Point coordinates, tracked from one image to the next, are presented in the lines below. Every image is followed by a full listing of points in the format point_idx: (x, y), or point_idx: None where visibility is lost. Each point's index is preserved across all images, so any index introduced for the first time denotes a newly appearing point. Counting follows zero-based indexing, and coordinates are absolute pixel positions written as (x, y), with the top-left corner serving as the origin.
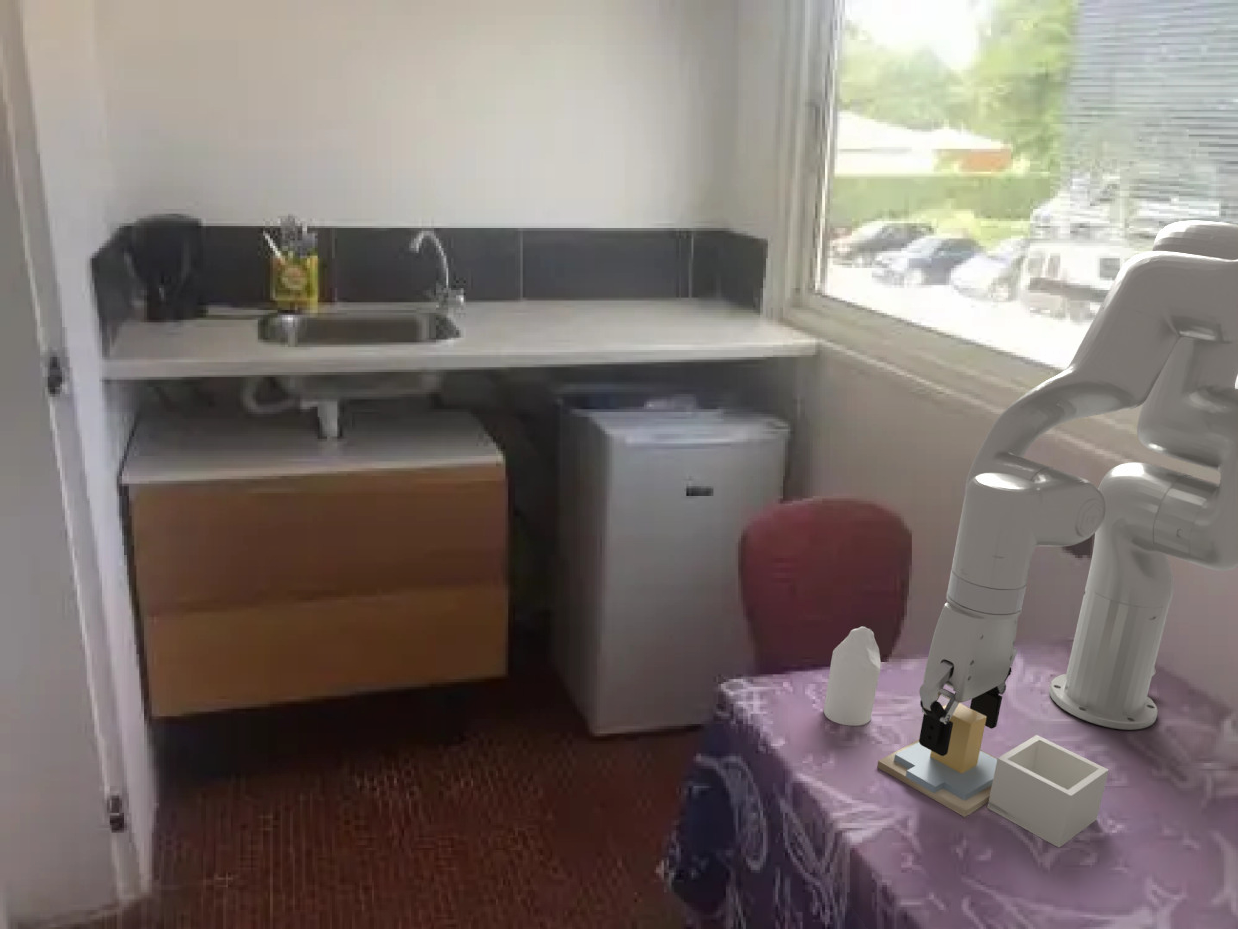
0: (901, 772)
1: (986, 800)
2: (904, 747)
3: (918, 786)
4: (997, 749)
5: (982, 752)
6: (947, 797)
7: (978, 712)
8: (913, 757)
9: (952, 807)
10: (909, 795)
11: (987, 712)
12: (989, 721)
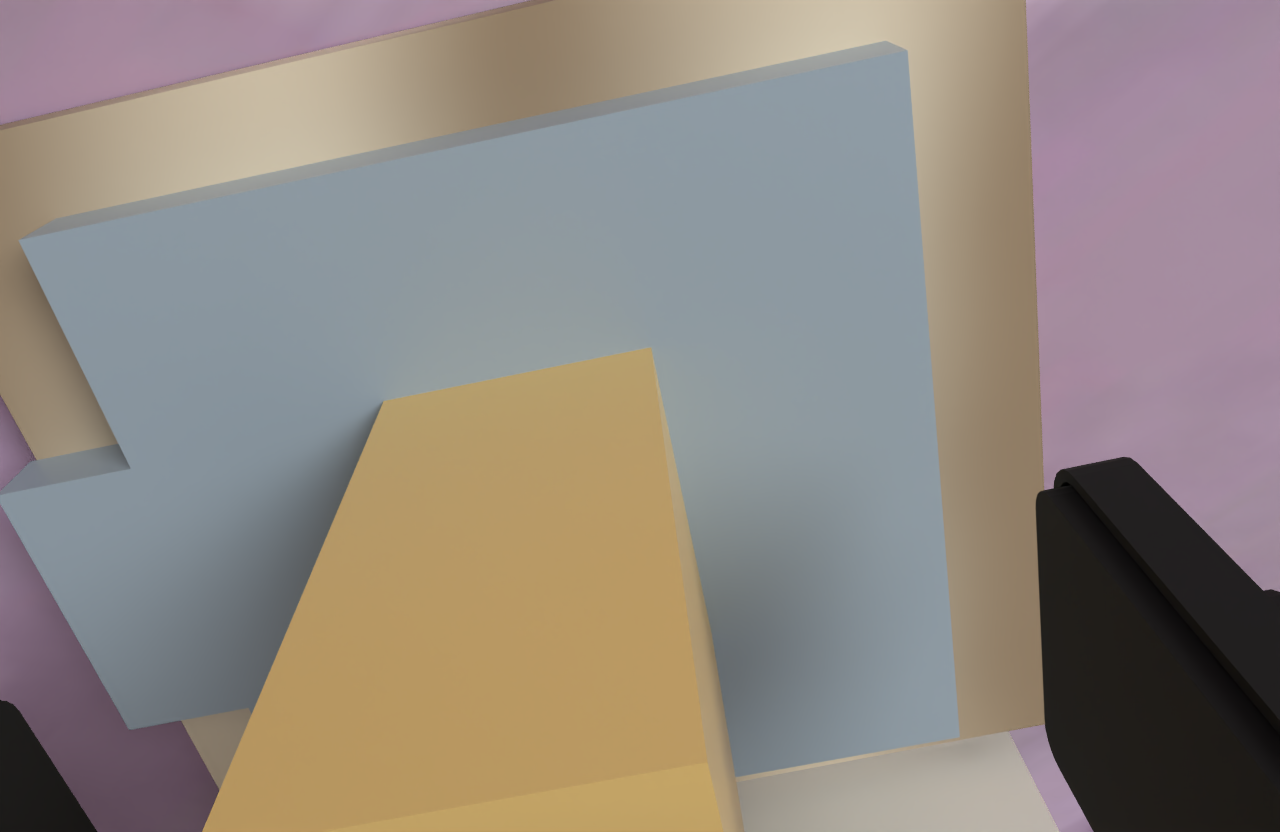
0: (24, 400)
1: None
2: (323, 60)
3: None
4: (1262, 334)
5: (930, 521)
6: (224, 750)
7: (1100, 671)
8: (194, 358)
9: None
10: (19, 552)
11: (1129, 821)
12: (1080, 767)
